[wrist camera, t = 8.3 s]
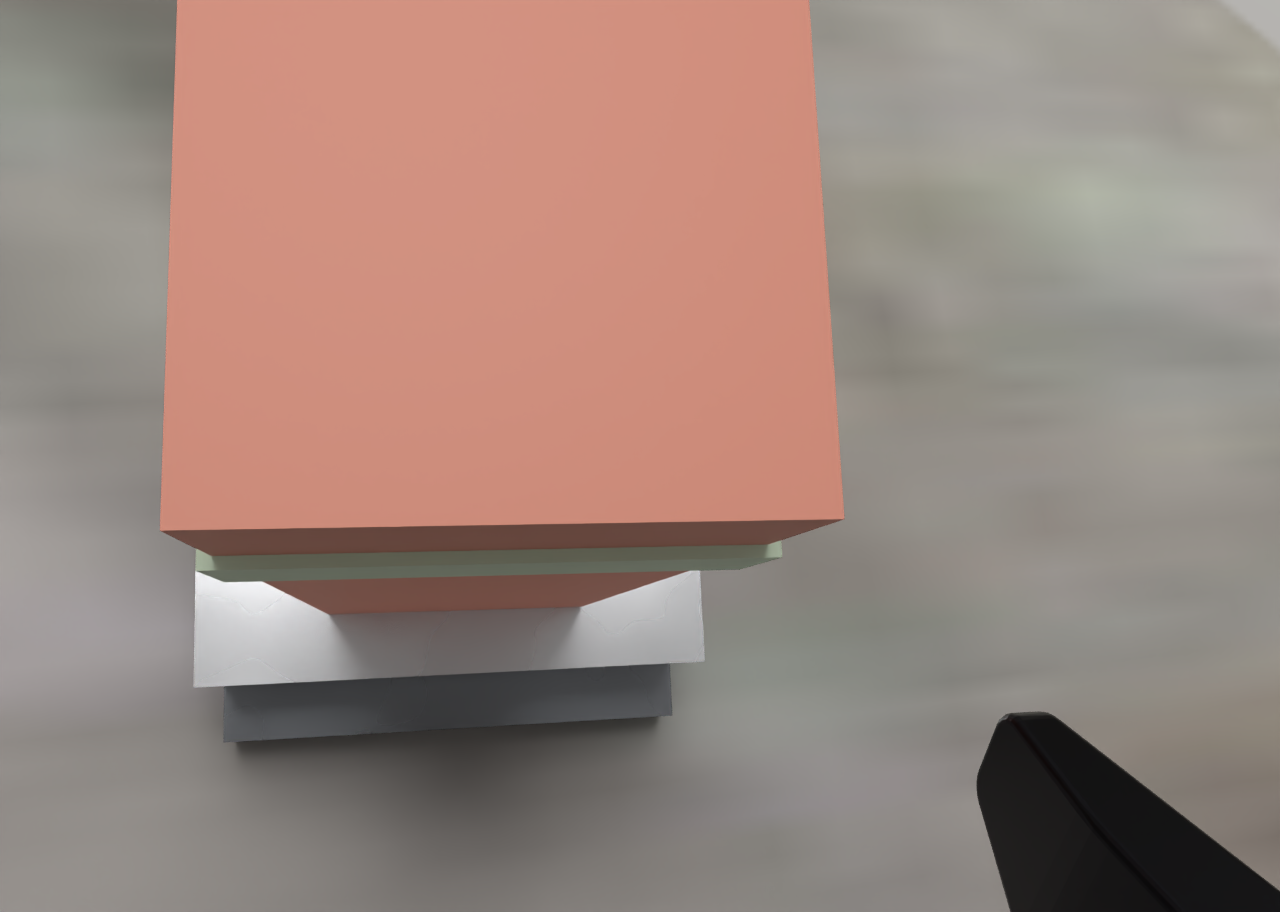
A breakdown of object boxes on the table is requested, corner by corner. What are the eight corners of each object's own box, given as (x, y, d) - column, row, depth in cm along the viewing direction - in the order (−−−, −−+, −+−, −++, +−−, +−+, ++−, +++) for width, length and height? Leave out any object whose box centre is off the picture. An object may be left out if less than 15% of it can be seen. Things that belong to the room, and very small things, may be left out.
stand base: (659, 712, 23) (708, 723, 19) (234, 738, 21) (192, 755, 17) (622, -29, 25) (658, -153, 21) (242, -54, 24) (208, -192, 20)
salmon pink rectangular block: (587, 612, 19) (860, 536, 7) (322, 621, 18) (139, 548, 6) (580, 362, 19) (817, -80, 8) (324, 360, 19) (163, -135, 7)
